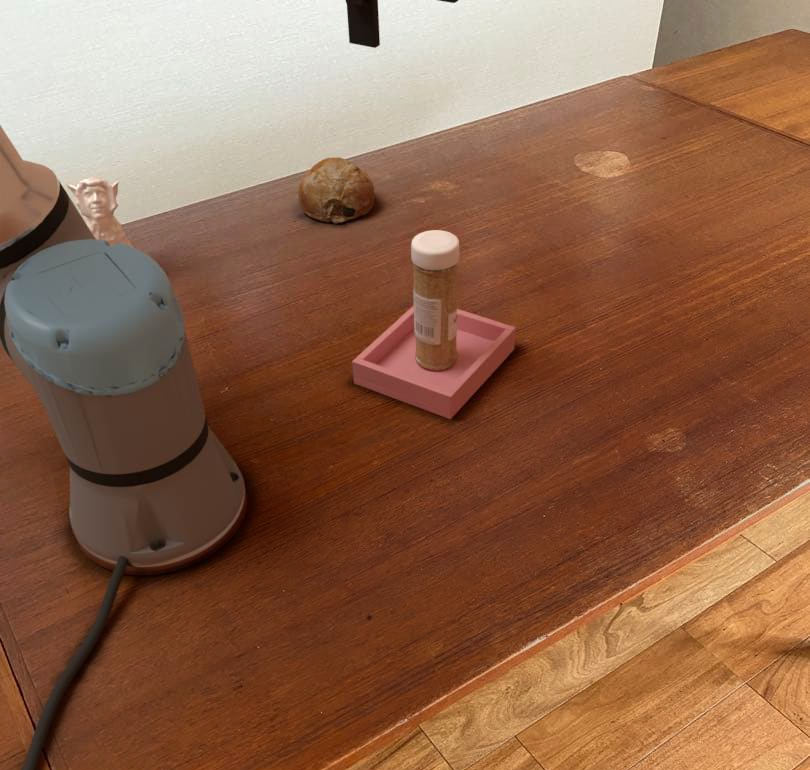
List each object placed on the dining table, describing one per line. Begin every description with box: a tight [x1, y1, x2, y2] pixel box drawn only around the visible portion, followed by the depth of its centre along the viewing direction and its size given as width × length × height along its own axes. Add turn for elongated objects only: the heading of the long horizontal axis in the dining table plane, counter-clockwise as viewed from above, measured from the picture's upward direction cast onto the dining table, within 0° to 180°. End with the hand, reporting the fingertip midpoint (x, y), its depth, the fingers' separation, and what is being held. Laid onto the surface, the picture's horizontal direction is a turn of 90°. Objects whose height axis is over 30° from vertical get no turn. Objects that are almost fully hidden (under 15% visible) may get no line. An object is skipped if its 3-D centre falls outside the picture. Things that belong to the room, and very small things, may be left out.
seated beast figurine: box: [66, 176, 133, 247], centre depth 101 cm, size 10×9×12 cm
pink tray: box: [351, 305, 517, 420], centre depth 90 cm, size 14×12×3 cm
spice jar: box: [410, 229, 460, 370], centre depth 86 cm, size 5×5×14 cm
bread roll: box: [297, 157, 376, 225], centre depth 114 cm, size 10×10×8 cm
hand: (406, 21), depth 79 cm, fingers open, 13 cm apart
